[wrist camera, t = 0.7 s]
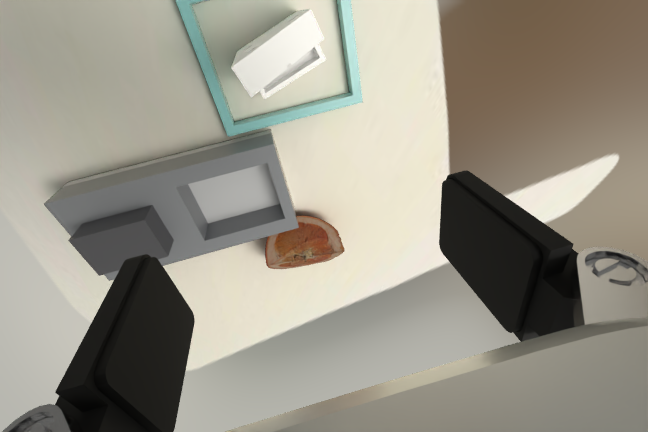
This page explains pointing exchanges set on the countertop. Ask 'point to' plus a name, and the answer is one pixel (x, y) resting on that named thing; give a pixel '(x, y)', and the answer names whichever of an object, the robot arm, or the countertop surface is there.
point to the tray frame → (250, 124)
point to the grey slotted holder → (178, 204)
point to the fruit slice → (303, 244)
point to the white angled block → (280, 54)
